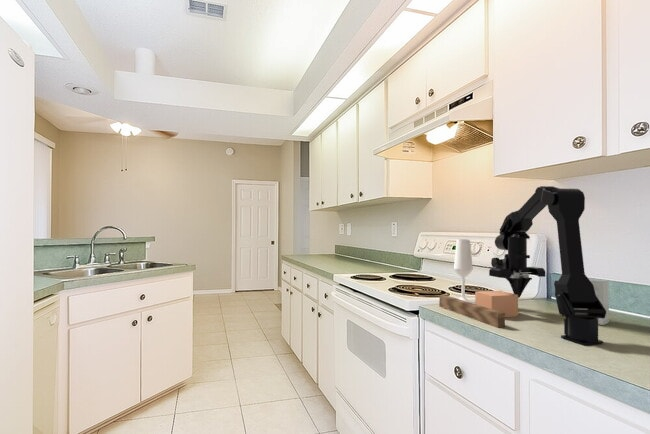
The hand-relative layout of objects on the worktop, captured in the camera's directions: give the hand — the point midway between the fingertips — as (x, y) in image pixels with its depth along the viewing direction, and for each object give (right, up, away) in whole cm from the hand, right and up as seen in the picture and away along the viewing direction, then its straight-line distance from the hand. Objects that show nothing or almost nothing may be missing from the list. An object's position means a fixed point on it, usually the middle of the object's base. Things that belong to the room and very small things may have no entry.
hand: (517, 297), depth 121 cm
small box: (+17, -5, -11) cm, 21 cm away
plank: (-19, -5, -6) cm, 20 cm away
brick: (-8, -5, -3) cm, 10 cm away
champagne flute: (-13, -5, +15) cm, 20 cm away
